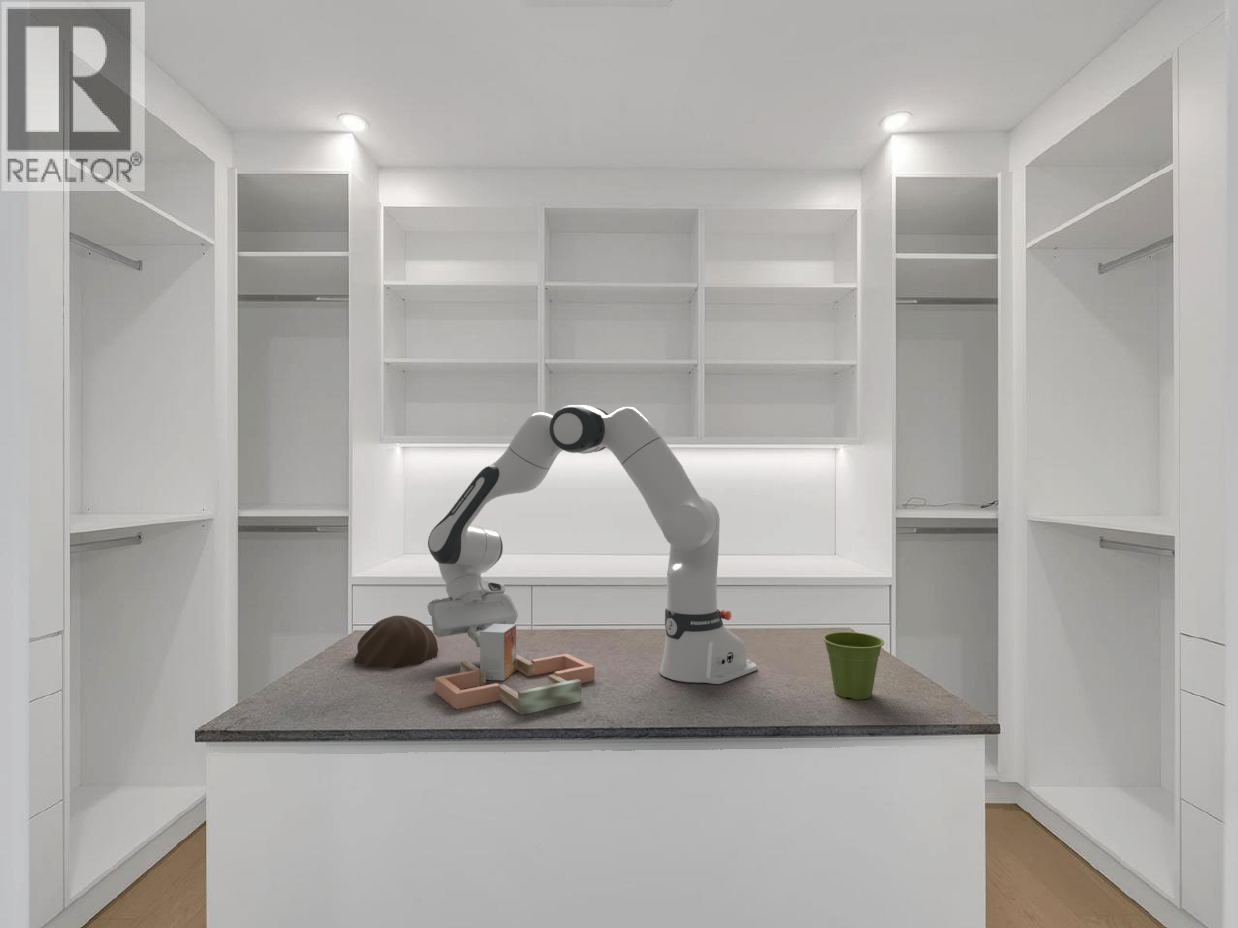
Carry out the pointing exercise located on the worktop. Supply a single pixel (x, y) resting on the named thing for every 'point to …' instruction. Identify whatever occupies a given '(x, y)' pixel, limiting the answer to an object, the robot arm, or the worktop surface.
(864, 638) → the plant pot
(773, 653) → the worktop surface
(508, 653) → the small box
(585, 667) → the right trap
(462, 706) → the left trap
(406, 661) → the decorative dome
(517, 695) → the trap lane
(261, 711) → the worktop surface
